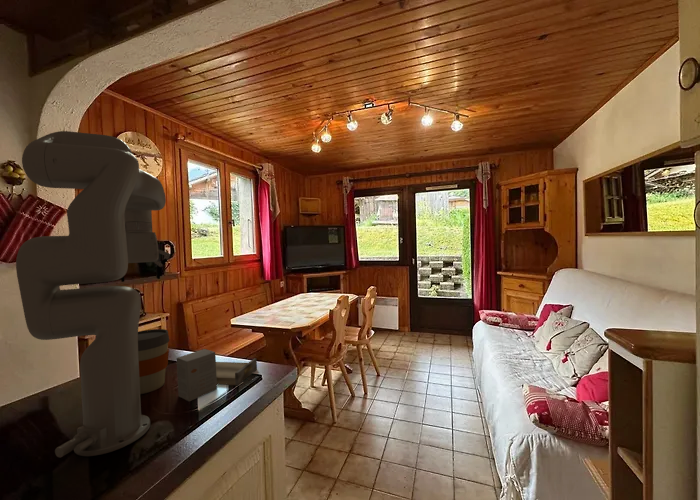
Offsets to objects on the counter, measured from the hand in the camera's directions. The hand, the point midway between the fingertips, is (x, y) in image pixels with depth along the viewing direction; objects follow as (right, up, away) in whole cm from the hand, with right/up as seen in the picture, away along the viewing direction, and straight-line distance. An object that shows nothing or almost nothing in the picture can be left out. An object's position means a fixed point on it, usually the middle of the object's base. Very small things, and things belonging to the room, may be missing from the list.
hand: (141, 280), depth 99 cm
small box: (+28, -29, -18) cm, 44 cm away
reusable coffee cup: (+11, -30, -13) cm, 34 cm away
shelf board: (+30, -29, -8) cm, 42 cm away
